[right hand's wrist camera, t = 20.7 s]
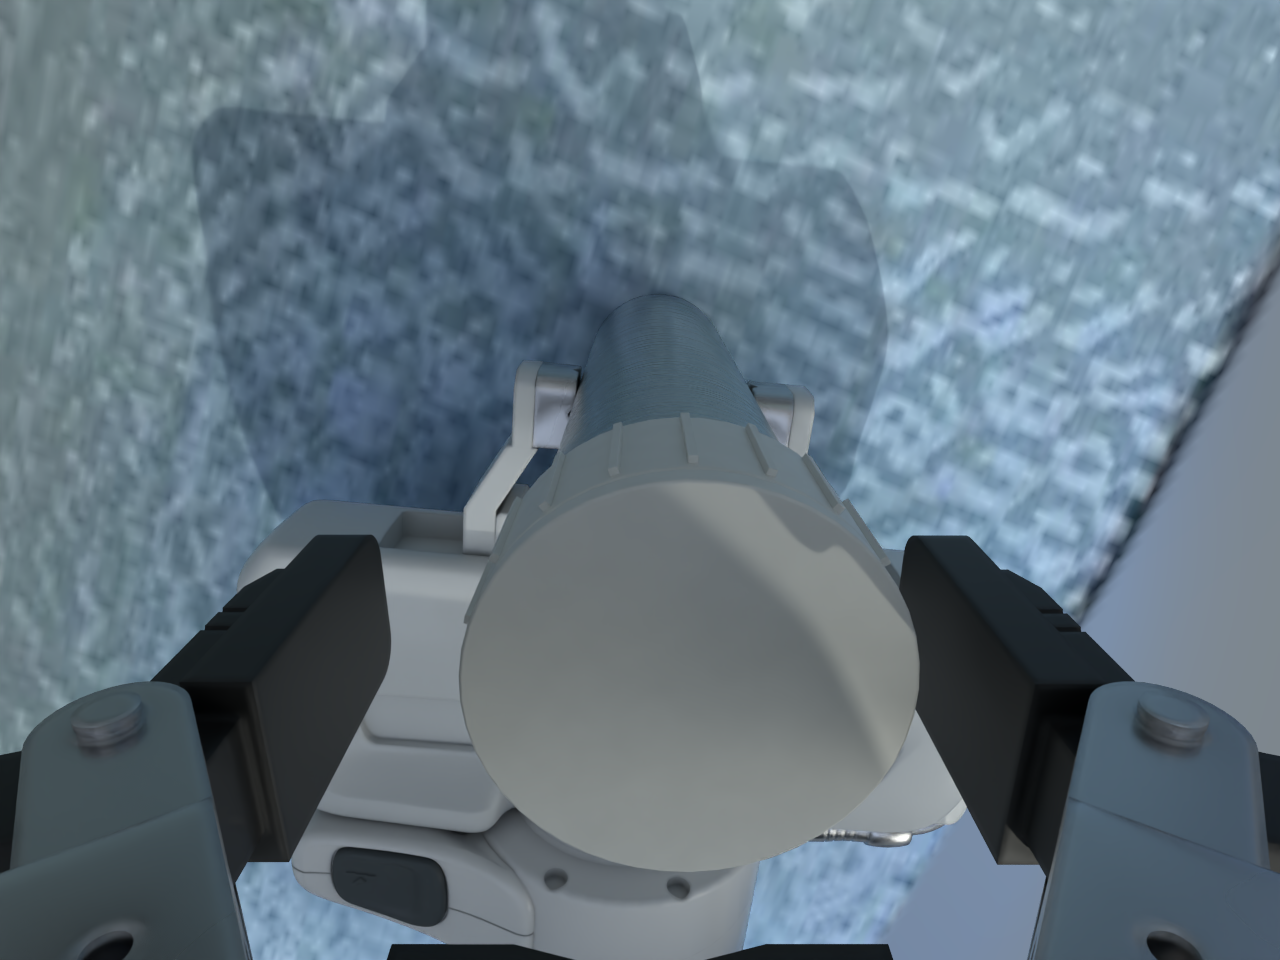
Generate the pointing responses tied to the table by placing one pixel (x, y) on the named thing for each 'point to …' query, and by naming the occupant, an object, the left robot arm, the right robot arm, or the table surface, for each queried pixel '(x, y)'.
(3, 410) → the table surface
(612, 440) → the lid
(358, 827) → the left robot arm
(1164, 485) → the table surface
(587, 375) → the jar
